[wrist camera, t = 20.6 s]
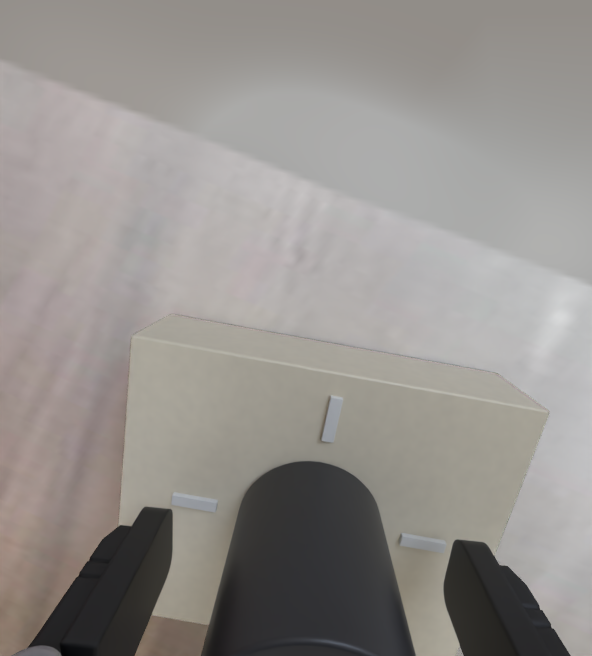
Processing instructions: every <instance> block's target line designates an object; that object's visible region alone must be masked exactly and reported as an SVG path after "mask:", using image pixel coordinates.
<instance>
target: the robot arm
mask: <svg viewBox="0 0 592 656" xmlns="http://www.w3.org/2000/svg"><path fill="white" fill-rule="evenodd" d="M172 552H173V512H172V510H171V509H166V508H156V507H144V508H143V509H142V510H141V512H140V513H139V515H138V516H137V518H136V520H135V521H134V523H133V524H132V526H125V525H120V526H119V527H117V528H116V529H115V530H114V531H112V532H111V533H110V534H109V535H107V536H106V537H105V538H104V539H103V540H102V541H101V542H100V544H99V545H98V547H97V548H96V550H95V551H94V553H93V554H92V556H91V557H90V560H89V561H87V563H86V564H85V566H84V567H83V569H82V570H81V572H80V574H79V576H78V577H76V579H75V580H74V582H73V583H72V585H71V586H70V588H69V589H68V591H67V592H66V593H65V595H64V596H63V598H62V599H61V601H60V602H59V604H58V605H57V607H56V608H55V610H54V611H53V612H52V614H51V615H50V617H49V618H48V620H47V621H46V623H45V624H44V626H43V627H42V629H41V630H40V631H39V633H38V634H37V636H36V637H35V639H34V640H33V641H32V643H31V644H30V645H29V646H28V647H27V649H24V650H22V651H19V652H17V653H16V654H14V655H12V656H134V655H135V653H136V650H137V648H138V646H139V643H140V641H141V638H142V636H143V634H144V631H145V629H146V626H147V624H148V622H149V619H150V617H151V614H152V612H153V610H154V607H155V605H156V603H157V600H158V598H159V595H160V593H161V591H162V588H163V586H164V583H165V581H166V579H167V576H168V573H169V569H170V565H171V560H172ZM443 590H444V600H445V605H446V608H447V611H448V614H449V617H450V619H451V622H452V625H453V628H454V630H455V633H456V636H457V638H458V641H459V644H460V647H461V649H462V652H463V655H464V656H570V654H569V653H568V651H567V649H566V648H565V646H564V645H563V643H562V641H561V640H560V638H559V637H558V635H557V633H556V632H555V630H554V629H552V628H551V624H550V622H549V621H548V619H547V617H546V616H545V614H544V613H543V611H542V610H540V608H539V605H538V603H537V601H536V600H535V598H534V596H533V595H532V593H531V592H530V590H529V588H528V587H527V585H526V584H525V583H524V582H523V581H522V580H521V579H520V578H519V577H518V576H517V575H516V574H515V573H514V572H513V571H512V570H511V569H510V568H509V567H508V566H502V565H499V564H498V562H497V560H496V559H495V557H494V555H493V553H492V552H491V550H490V548H489V547H488V545H487V544H486V543H484V542H478V541H468V540H459V539H456V540H455V541H454V542H453V545H452V549H451V554H450V558H449V562H448V566H447V570H446V575H445V579H444V586H443Z"/></svg>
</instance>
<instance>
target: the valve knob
mask: <svg viewBox="0 0 592 656" xmlns="http://www.w3.org/2000/svg"><path fill="white" fill-rule="evenodd" d="M201 656H416V654H415V650H414V646H413V642H412V638H411V634H410V630H409V626H408V623H407V619H406V615H405V611H404V607H403V603H402V599H401V595H400V591H399V587H398V583H397V579H396V575H395V571H394V567H393V563H392V560H391V556H390V552H389V548H388V544H387V540H386V536H385V532H384V528H383V524H382V520H381V516H380V512H379V509H378V506H377V503H376V501H375V499H374V497H373V495H372V494H371V492H370V491H369V489H368V488H367V487H366V486H365V485H364V484H363V483H362V482H361V481H360V480H359V479H358V478H356V477H355V476H354V475H352V474H351V473H349V472H347V471H346V470H344V469H341V468H339V467H337V466H334V465H331V464H327V463H322V462H315V461H300V462H293V463H288V464H285V465H281V466H279V467H276V468H274V469H272V470H270V471H268V472H267V473H265V474H264V475H262V476H261V477H260V478H258V479H257V480H256V481H255V482H254V483H253V484H252V485H251V487H250V488H249V489H248V491H247V492H246V494H245V496H244V497H243V499H242V502H241V505H240V508H239V512H238V516H237V519H236V523H235V527H234V531H233V535H232V539H231V542H230V546H229V550H228V554H227V558H226V562H225V566H224V569H223V573H222V577H221V581H220V585H219V589H218V592H217V596H216V600H215V604H214V608H213V612H212V615H211V619H210V623H209V627H208V631H207V635H206V638H205V642H204V646H203V650H202V654H201Z"/></svg>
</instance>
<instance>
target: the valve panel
mask: <svg viewBox="0 0 592 656" xmlns="http://www.w3.org/2000/svg"><path fill="white" fill-rule="evenodd" d="M548 416H549V410H547V409H546V408H544V407H543V406H542V405H540V404H539V403H537V402H536V401H535V400H533V399H532V398H531V397H529V396H528V395H526V394H525V393H524V392H522V391H521V390H520V389H518V388H517V387H515V386H514V385H513V384H511V383H510V382H508V381H507V380H506V379H504V378H503V377H502V376H500V375H499V374H497V373H493V372H487V371H482V370H476V369H471V368H465V367H460V366H454V365H449V364H443V363H438V362H432V361H427V360H421V359H416V358H410V357H405V356H399V355H394V354H388V353H383V352H377V351H372V350H366V349H361V348H355V347H350V346H344V345H339V344H333V343H328V342H322V341H317V340H311V339H306V338H300V337H295V336H289V335H284V334H278V333H273V332H267V331H262V330H256V329H251V328H246V327H240V326H235V325H229V324H224V323H218V322H213V321H207V320H202V319H196V318H191V317H185V316H180V315H174V314H170V315H168V316H166V317H164V318H162V319H161V320H159V321H157V322H155V323H153V324H151V325H150V326H148V327H146V328H144V329H142V330H140V331H139V332H137V333H135V334H133V335H132V336H131V345H130V359H129V374H128V389H127V403H126V418H125V433H124V448H123V462H122V477H121V492H120V506H119V521H118V527H119V526H120V525H125V526H132V524H133V523H134V521H135V520H136V518H137V516H138V515H139V513H140V512H141V510H142V509H143V508H144V507H156V508H166V509H171V510H172V512H173V552H172V560H171V565H170V569H169V573H168V576H167V579H166V581H165V583H164V586H163V588H162V591H161V593H160V595H159V598H158V600H157V603H156V605H155V607H154V610H153V612H152V614H151V615H153V616H159V617H165V618H170V619H176V620H182V621H187V622H193V623H199V624H204V625H209V623H210V619H211V615H212V612H213V608H214V604H215V600H216V596H217V592H218V589H219V585H220V581H221V577H222V573H223V569H224V566H225V562H226V558H227V554H228V550H229V546H230V542H231V539H232V535H233V531H234V527H235V523H236V519H237V516H238V512H239V508H240V505H241V502H242V499H243V497H244V496H245V494H246V492H247V491H248V489H249V488H250V487H251V485H252V484H253V483H254V482H255V481H256V480H257V479H258V478H260V477H261V476H262V475H264V474H265V473H267V472H268V471H270V470H272V469H274V468H276V467H279V466H281V465H285V464H288V463H293V462H300V461H315V462H322V463H327V464H331V465H334V466H337V467H339V468H341V469H344V470H346V471H347V472H349V473H351V474H352V475H354V476H355V477H356V478H358V479H359V480H360V481H361V482H362V483H363V484H364V485H365V486H366V487H367V488H368V489H369V491H370V492H371V494H372V495H373V497H374V499H375V501H376V503H377V506H378V509H379V512H380V516H381V520H382V524H383V528H384V532H385V536H386V540H387V544H388V548H389V552H390V556H391V560H392V563H393V567H394V571H395V575H396V579H397V583H398V587H399V591H400V595H401V599H402V603H403V607H404V611H405V615H406V619H407V623H408V626H409V630H410V634H411V638H412V642H413V646H414V650H415V654H416V656H456V654H457V652H458V649H459V646H460V644H459V641H458V638H457V636H456V633H455V630H454V628H453V625H452V622H451V619H450V617H449V614H448V611H447V608H446V605H445V600H444V590H443V586H444V579H445V575H446V570H447V566H448V562H449V558H450V554H451V549H452V545H453V542H454V541H455V540H456V539H459V540H468V541H478V542H484V543H486V544H487V545H488V547H489V548H490V550H491V552H492V553H493V555H494V556H495V553H496V551H497V548H498V545H499V543H500V540H501V538H502V535H503V532H504V530H505V527H506V525H507V522H508V520H509V517H510V514H511V512H512V509H513V507H514V504H515V501H516V499H517V496H518V494H519V491H520V488H521V486H522V483H523V481H524V478H525V475H526V473H527V470H528V468H529V465H530V463H531V460H532V457H533V455H534V452H535V450H536V447H537V444H538V442H539V439H540V437H541V434H542V431H543V429H544V426H545V424H546V421H547V418H548Z"/></svg>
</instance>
